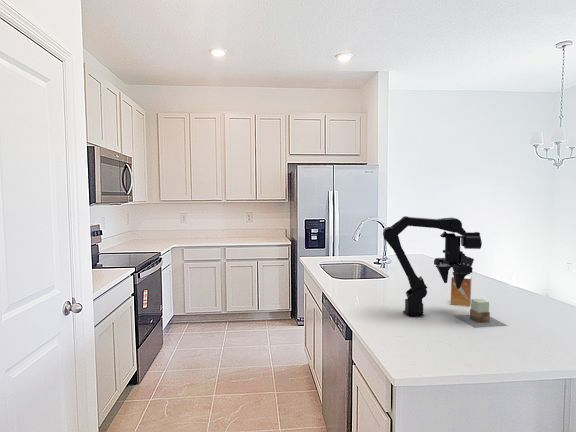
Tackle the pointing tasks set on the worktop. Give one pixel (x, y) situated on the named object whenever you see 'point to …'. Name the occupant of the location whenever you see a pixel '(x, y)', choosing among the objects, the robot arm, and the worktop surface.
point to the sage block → (479, 305)
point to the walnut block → (479, 316)
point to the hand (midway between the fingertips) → (451, 285)
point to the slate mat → (474, 324)
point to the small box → (461, 292)
